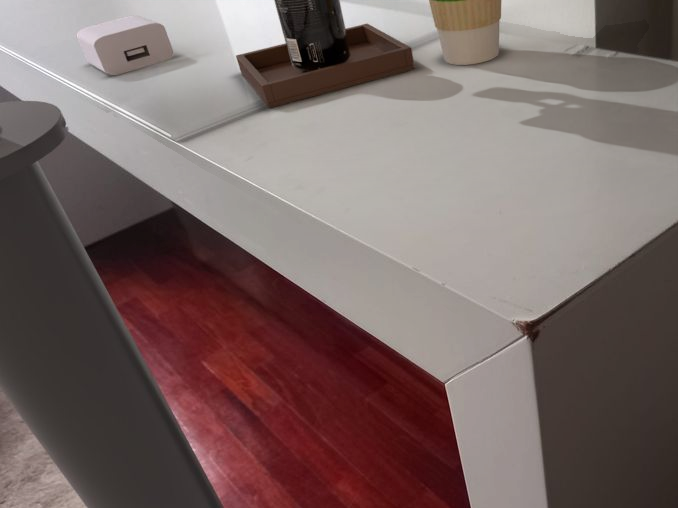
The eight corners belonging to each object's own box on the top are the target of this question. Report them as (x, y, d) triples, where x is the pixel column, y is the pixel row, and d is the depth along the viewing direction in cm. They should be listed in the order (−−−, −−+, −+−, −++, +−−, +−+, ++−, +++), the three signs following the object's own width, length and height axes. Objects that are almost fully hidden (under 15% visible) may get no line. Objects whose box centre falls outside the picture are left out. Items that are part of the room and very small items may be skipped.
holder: (269, 108, 72) (262, 86, 70) (241, 75, 82) (235, 55, 81) (414, 69, 76) (411, 47, 75) (371, 42, 87) (367, 23, 85)
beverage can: (331, 55, 83) (304, -60, 75) (364, 63, 78) (340, -58, 71) (282, 72, 79) (250, -46, 72) (314, 81, 75) (283, -43, 68)
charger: (141, 42, 103) (176, 58, 93) (78, 60, 99) (107, 78, 89) (127, 8, 100) (162, 20, 90) (62, 24, 96) (91, 39, 86)
